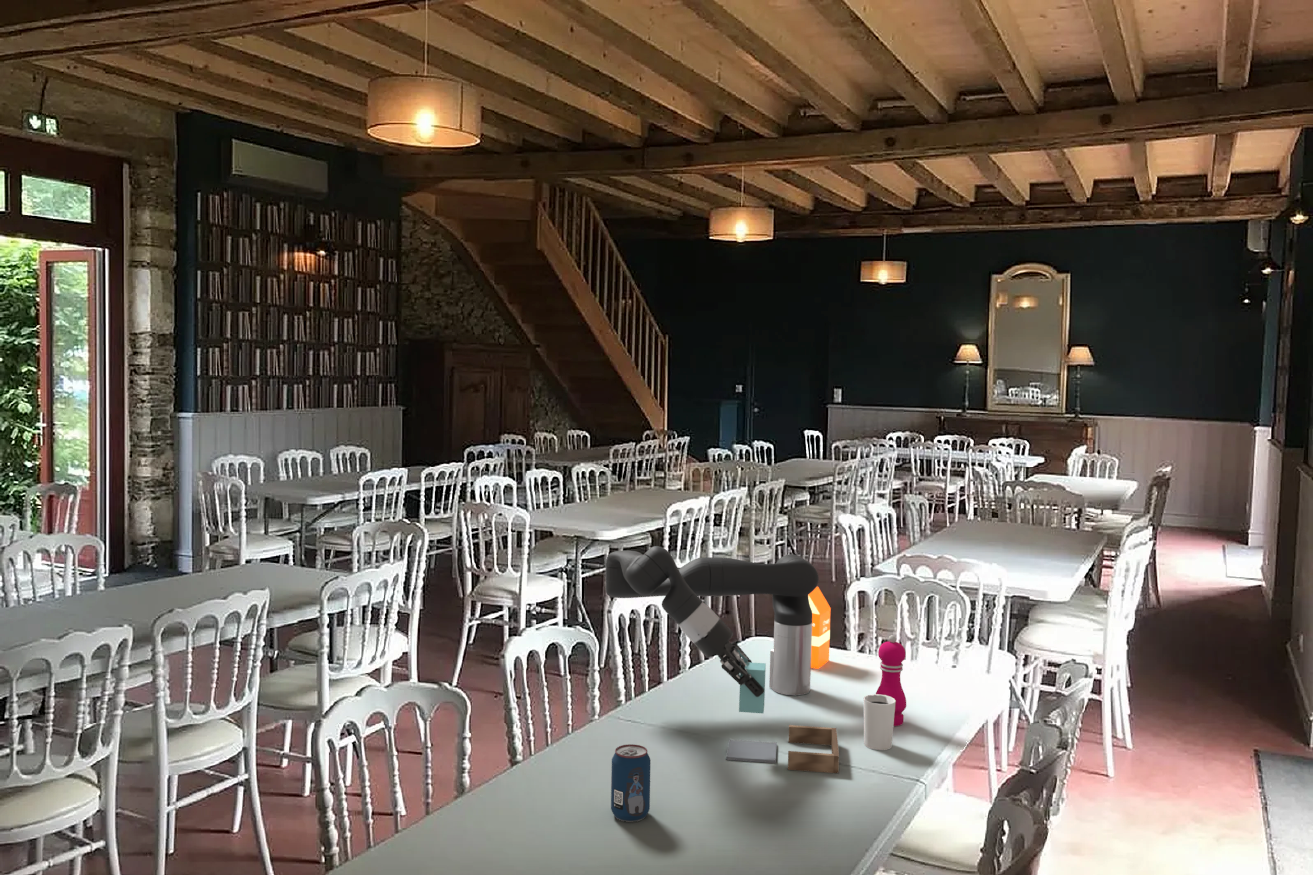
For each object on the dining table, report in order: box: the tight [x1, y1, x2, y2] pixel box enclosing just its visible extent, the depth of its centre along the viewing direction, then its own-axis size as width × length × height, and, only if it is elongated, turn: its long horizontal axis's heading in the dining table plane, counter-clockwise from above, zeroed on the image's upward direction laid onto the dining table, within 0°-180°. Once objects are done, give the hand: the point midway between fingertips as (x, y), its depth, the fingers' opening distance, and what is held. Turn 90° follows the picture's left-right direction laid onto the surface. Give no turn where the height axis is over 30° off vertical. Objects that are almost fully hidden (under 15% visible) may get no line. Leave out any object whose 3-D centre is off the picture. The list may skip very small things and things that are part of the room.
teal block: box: [738, 661, 767, 714], centre depth 221 cm, size 5×5×9 cm
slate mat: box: [725, 739, 777, 764], centre depth 223 cm, size 10×10×1 cm
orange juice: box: [808, 586, 832, 670], centre depth 287 cm, size 8×9×20 cm
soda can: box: [610, 744, 652, 823], centre depth 191 cm, size 7×7×12 cm
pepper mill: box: [875, 634, 907, 727], centre depth 242 cm, size 7×7×20 cm
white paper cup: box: [863, 693, 896, 751], centre depth 228 cm, size 7×7×10 cm
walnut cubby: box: [787, 724, 840, 774], centre depth 221 cm, size 10×16×4 cm, turn 173°
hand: (761, 689), depth 221 cm, fingers closed on teal block, 5 cm apart
